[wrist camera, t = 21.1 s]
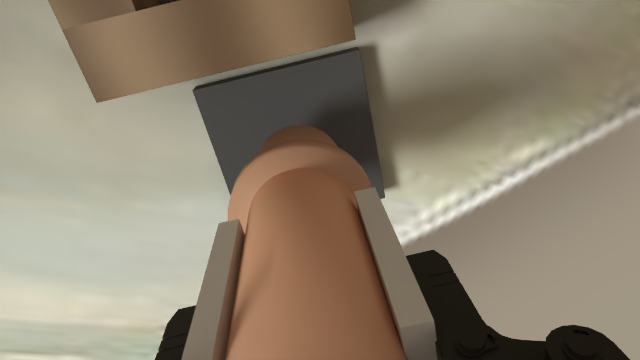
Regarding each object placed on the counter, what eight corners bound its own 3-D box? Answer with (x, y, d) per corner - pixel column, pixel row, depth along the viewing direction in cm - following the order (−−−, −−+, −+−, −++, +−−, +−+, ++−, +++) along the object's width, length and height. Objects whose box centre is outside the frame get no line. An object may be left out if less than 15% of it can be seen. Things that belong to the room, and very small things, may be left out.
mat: (244, 222, 26) (243, 231, 26) (196, 86, 23) (192, 90, 22) (381, 190, 26) (385, 197, 25) (356, 47, 22) (359, 49, 21)
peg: (259, 227, 23) (228, 529, 10) (225, 125, 20) (124, 362, 7) (365, 202, 23) (469, 477, 10) (344, 96, 20) (448, 288, 7)
